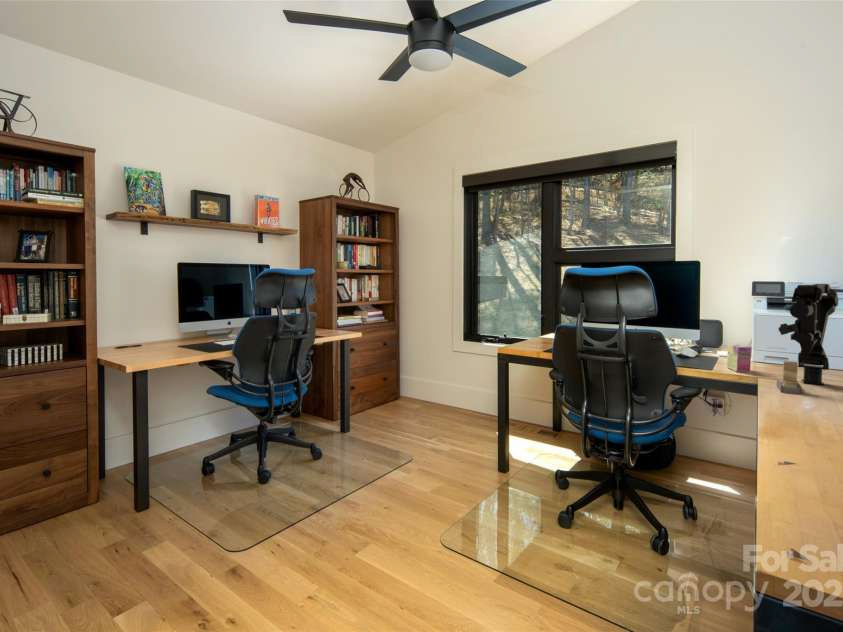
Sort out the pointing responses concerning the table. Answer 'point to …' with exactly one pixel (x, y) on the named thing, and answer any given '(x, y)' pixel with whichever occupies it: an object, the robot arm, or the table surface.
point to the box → (739, 357)
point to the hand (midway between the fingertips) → (805, 357)
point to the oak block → (790, 373)
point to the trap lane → (789, 388)
